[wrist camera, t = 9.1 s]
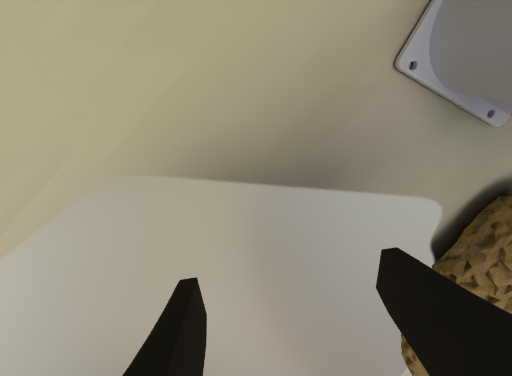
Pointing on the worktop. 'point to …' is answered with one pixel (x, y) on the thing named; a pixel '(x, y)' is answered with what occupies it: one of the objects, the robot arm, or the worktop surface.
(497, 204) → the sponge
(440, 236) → the worktop surface
